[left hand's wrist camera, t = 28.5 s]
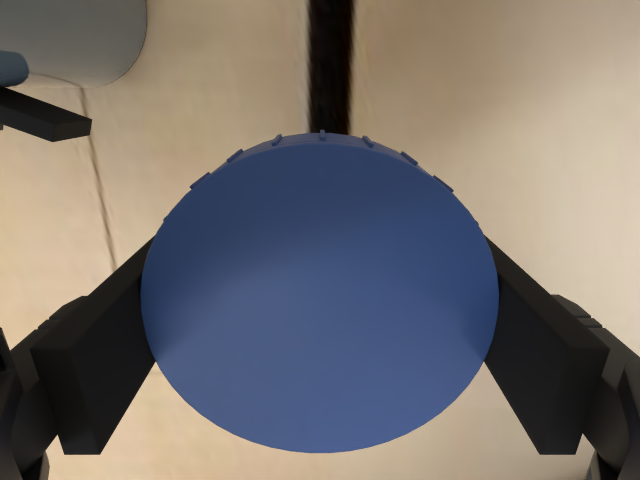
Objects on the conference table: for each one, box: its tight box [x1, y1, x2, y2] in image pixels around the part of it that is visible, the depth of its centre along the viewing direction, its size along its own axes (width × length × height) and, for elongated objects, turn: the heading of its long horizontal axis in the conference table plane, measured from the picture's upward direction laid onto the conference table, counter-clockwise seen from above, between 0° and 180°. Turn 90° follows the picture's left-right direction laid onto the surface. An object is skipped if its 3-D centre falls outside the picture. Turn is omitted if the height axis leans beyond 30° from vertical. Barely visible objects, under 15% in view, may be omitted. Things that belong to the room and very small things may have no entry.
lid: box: [140, 130, 499, 453], centre depth 11 cm, size 10×10×2 cm
